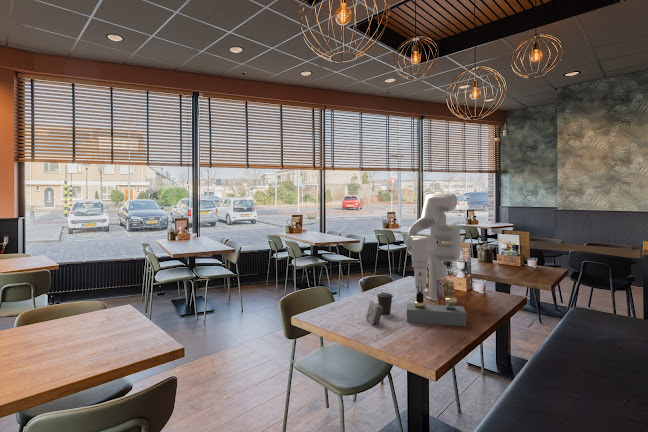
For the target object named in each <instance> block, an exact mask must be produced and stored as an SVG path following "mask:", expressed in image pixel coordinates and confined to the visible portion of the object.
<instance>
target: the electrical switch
mask: <svg viewBox="0 0 648 432" xmlns="http://www.w3.org/2000/svg"><path fill="white" fill-rule="evenodd" d="M382 311H383V308H382V307H381V306H380V305H379V304H378V303H377V302H375V301H374V300H370V302H369V305H368V308H367V311H366V316H365V320H367V321H368V322H369V324H370V325H372V326H373V325H374V324H375V325H376V324H377V325H379V324H380V322H381V318H382Z"/></svg>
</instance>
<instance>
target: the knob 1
mask: <svg viewBox="0 0 648 432" xmlns="http://www.w3.org/2000/svg"><path fill="white" fill-rule="evenodd" d="M414 304H415V307H417V308H423V307H425V304H426V301H425V300H423V303H419V302H416V300H415V301H414Z"/></svg>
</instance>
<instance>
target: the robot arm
mask: <svg viewBox="0 0 648 432" xmlns="http://www.w3.org/2000/svg"><path fill="white" fill-rule="evenodd" d="M423 199H424V200H423V206H422V210H421V216H420V218H419V219H417V220H416V221H415V222H414V223H413V224H412V225H411V226H410V227H409V230H408V232H407V236H406V242H405V243H406V244H405V245H406V248H407V249H408V250H410V251H411V267H412V268H413V269H414V286H415V289H416V293H415V295H416V297H415V299H416V300H415V301H416V302H419V303H423V301H424V293H425V294H426V295H425V298H426V299H427V300H428V301H433V302H437V279H439V278H444V279H447V266H446V264H444V262H458V261H459V260H460V257H461V256H460V255H461V231H460V227H459V226H458V225H456V224H447V215H446V213H445V212H452V211H453V210H454V209H455V208H456V207H457V205H458V198H457V195H456V194H455V193H428V194H426V195H425V196H424V198H423ZM426 229H430V232H429V233H430V235H417V234H418V233H419V232H421V231H423V230H426ZM438 242H447V243H438ZM450 243H451V244H450ZM427 268H428V288H427Z"/></svg>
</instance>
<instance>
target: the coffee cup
mask: <svg viewBox="0 0 648 432" xmlns="http://www.w3.org/2000/svg"><path fill="white" fill-rule="evenodd" d="M376 297H377V301H378V304H379V305H380V306H381V307H382V308H383V311H382V314H381V316H388V315H391V312H392V301H393V297H394V296H393V294H391V293H389V292H380V293H377V294H376Z"/></svg>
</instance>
